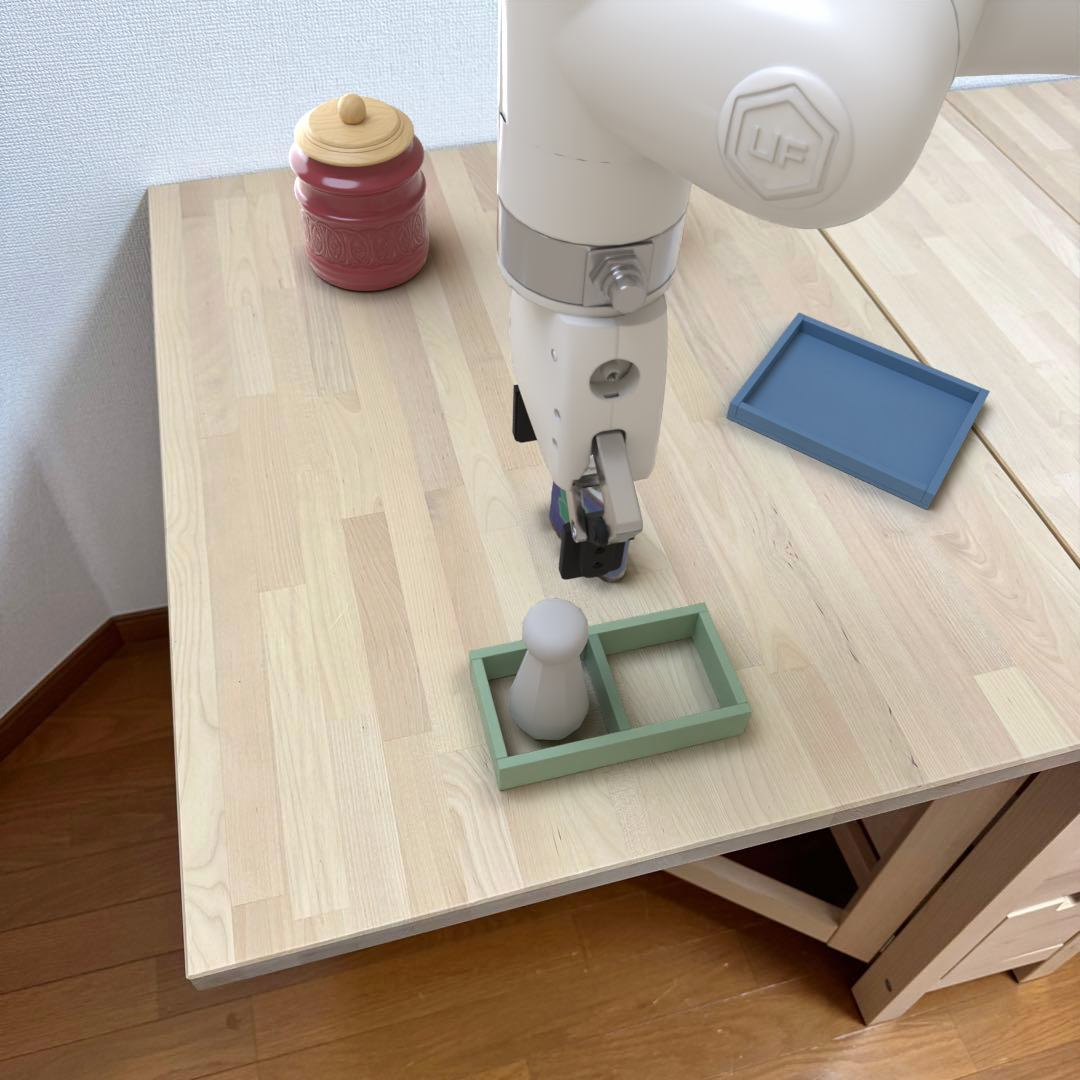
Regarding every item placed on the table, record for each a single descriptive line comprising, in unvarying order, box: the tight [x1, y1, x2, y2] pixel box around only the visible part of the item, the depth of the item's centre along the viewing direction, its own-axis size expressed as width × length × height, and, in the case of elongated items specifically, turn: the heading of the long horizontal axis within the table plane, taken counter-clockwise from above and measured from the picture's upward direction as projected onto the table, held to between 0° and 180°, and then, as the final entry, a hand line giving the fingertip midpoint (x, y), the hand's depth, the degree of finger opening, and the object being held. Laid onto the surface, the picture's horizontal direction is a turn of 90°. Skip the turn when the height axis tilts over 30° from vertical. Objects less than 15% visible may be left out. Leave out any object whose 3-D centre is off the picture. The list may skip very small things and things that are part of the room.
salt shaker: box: [508, 597, 590, 741], centre depth 68 cm, size 6×6×13 cm
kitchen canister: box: [288, 92, 430, 292], centre depth 99 cm, size 13×13×18 cm
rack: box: [468, 601, 753, 791], centre depth 73 cm, size 18×10×4 cm, turn 105°
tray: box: [726, 312, 991, 511], centre depth 94 cm, size 20×16×2 cm
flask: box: [548, 455, 631, 583], centre depth 79 cm, size 9×3×11 cm, turn 34°
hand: (563, 499), depth 54 cm, fingers open, 9 cm apart
